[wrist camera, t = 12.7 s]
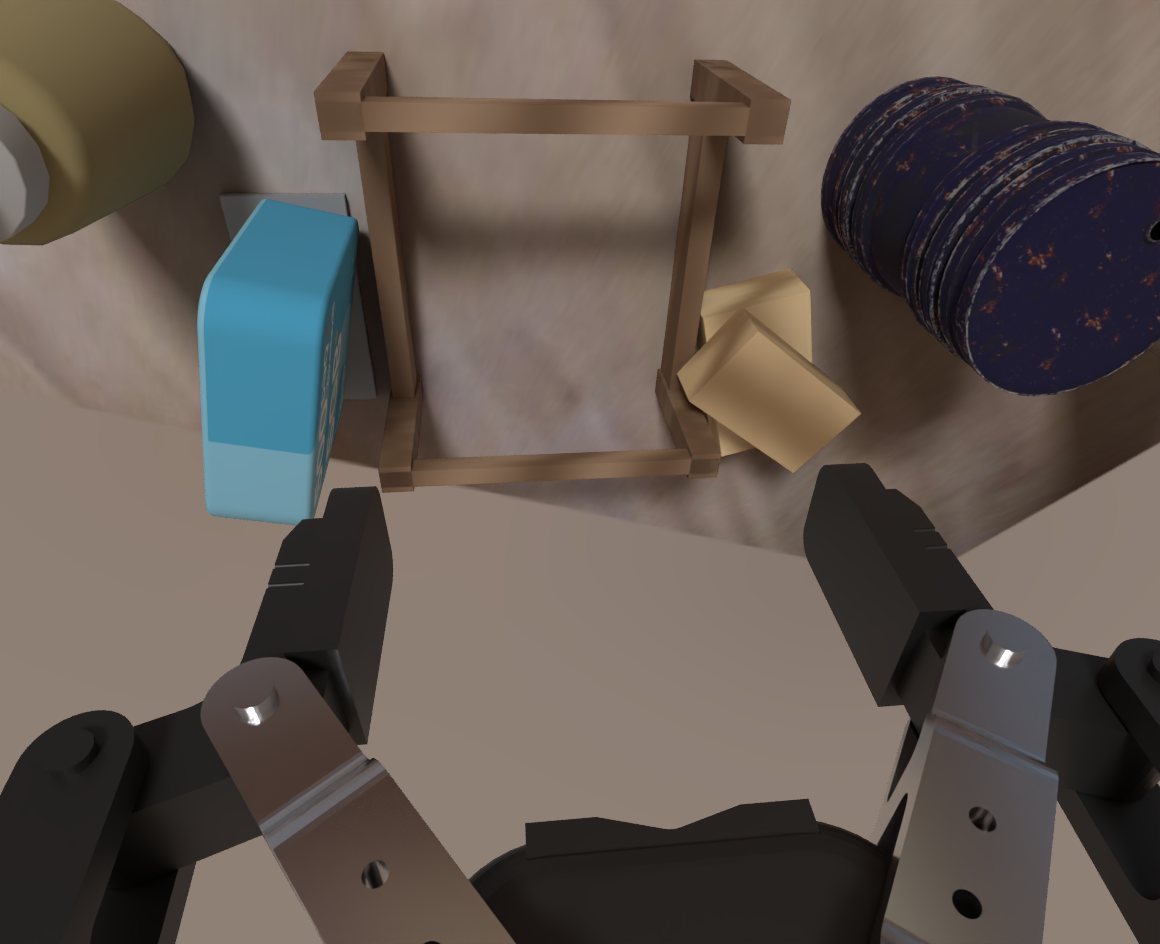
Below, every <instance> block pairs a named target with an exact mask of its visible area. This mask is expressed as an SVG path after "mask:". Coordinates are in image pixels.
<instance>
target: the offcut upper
mask: <svg viewBox="0 0 1160 944" xmlns="http://www.w3.org/2000/svg"><path fill="white" fill-rule="evenodd" d="M677 375H678V377H679V379H680V382H681V384H682V386H683V389H684V391H685V393H686V395H687V398H688V400H689V401H690V402H691V403H692V404H694V405H695V406H697V407H698V408H700V409H701V410H703V411H704V412H705V413H707V414H708V415H710V416H711V417H713V418H714V419H716V420H717V421H719V422H720V423H721V424H723V425H724V426H726V427H727V428H729V429H730V430H732V431H733V432H735V433H736V434H737V435H739V436H740V437H742V438H743V439H745V440H746V441H748V442H749V443H750V444H752V445H753V446H755V447H756V448H758V449H759V450H761V451H762V452H764V453H765V454H766V455H768V456H769V457H771V458H772V459H774V460H775V461H777V462H778V463H780V464H781V465H782V466H784V467H785V468H787V469H788V470H790V471H791V472H793V473H794V472H795V471H796V470H797V469H798V468H800V467H801V466H802V465H803V464H804V463H805V462H806V461H808V460H809V459H810V458H811V457H812V456H813V455H814V454H816V453H817V452H818V451H819V450H820V449H821V448H823V447H824V446H825V445H826V444H827V443H828V442H829V441H831V440H832V439H833V438H834V437H835V436H836V435H837V434H839V433H840V432H841V431H842V430H843V429H844V428H845V427H847V426H848V425H849V424H850V423H851V422H852V421H854V420H855V419H856V418H857V417H858V416H859V415H860V414H861V413H860V412H859V410H858V409H857V408H856V406H855V405H854V404H853V402H852V401H851V400H850V398H849V397H848V396H847V394H846V393H845V392H844V391H843V389H842V388H841V387H840V386H839V385H838V384H837V383H835V382H834V381H833V380H832V379H831V378H829V377H828V376H827V375H826V374H824V373H823V372H822V371H821V370H820V369H818V368H817V367H816V366H815V365H813V364H812V363H811V362H810V361H808V360H807V359H806V358H805V357H804V356H802V355H801V354H800V353H799V352H797V351H796V350H795V349H794V348H793V347H791V346H790V345H789V344H788V343H786V342H785V341H784V340H783V339H781V338H780V337H779V336H778V335H777V334H775V333H774V332H773V331H772V330H770V329H769V328H768V327H767V326H765V325H764V324H763V323H762V322H761V321H759V320H758V319H757V318H756V317H754V316H753V315H752V314H751V313H750V312H748V311H747V310H746V309H745V308H743V307H742V306H741V307H740V308H739V309H738V310H737V311H736V312H735V313H734V314H733V315H732V316H731V317H730V318H729V319H728V320H727V321H726V323H725V324H724V325H723V326H722V327H721V328H720V329H719V330H718V331H717V332H716V333H715V334H714V335H713V336H712V337H711V338H710V339H709V340H708V341H707V342H706V343H705V344H704V346H703V347H702V348H701V349H700V350H699V351H698V352H697V353H696V354H695V355H694V356H693V357H692V358H691V359H690V360H689V361H688V362H687V363H686V364H685V365H684V366H683V367H682V369H681V370H680V371H679V372H678V373H677Z"/></svg>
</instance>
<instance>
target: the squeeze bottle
mask: <svg viewBox="0 0 1160 944" xmlns="http://www.w3.org/2000/svg"><path fill="white" fill-rule="evenodd" d="M194 124H195V120H194V113H193V107H192V101H191V96H190V91H189V87H188V83H187V78H186V74H185V70H184V68H183V66H182V65H181V63H180V62H179V60H178V58H177V57H176V55H175V53H174V52H173V50H172V48H171V47H170V45H169V44H168V42H167V41H166V40H165V39H164V38H163V37H162V36H161V35H159V34H158V33H157V32H156V31H155V30H154V29H153V28H152V27H151V26H149V25H148V24H147V23H146V22H145V21H144V20H143V19H142V18H140V17H139V16H138V15H136V14H135V13H133V12H132V11H130V10H129V9H128V8H126V7H125V6H123V5H122V4H121V3H119V2H117V1H115V0H0V243H1V244H9V245H45V244H47V243H50V242H52V241H55V240H57V239H60V238H62V237H65V236H67V235H70V234H72V233H74V232H76V231H78V230H80V229H82V228H84V227H86V226H88V225H90V224H91V223H93V222H95V221H97V220H99V219H101V218H103V217H105V216H107V215H109V214H110V213H112V212H114V211H116V210H118V209H120V208H122V207H124V206H126V205H128V204H130V203H131V202H133V201H135V200H137V199H139V198H141V197H143V196H145V195H147V194H149V193H150V192H152V191H154V190H156V189H158V188H160V187H162V186H164V185H166V184H168V183H169V182H170V180H171V179H172V178H173V177H174V175H175V174H176V173H177V172H178V170H179V169H180V168H181V167H182V165H183V164H184V163H185V162H186V160H187V159H188V158H189V153H190V147H191V141H192V136H193V130H194Z"/></svg>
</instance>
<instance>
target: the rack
mask: <svg viewBox="0 0 1160 944" xmlns="http://www.w3.org/2000/svg"><path fill="white" fill-rule="evenodd" d="M387 92H388V88H387V79H386V70H385V61H384V53H383V52H347V53H346V54H345V55H344V56H343V58H342V59H341V60H340V61H339V62H338V63H337V65H336V66H335V67H334V68H333V69H332V71H331V72H330V73H329V74H328V75H327V77H326V78H325V79H324V80H323V81H322V83H321V84H320V85H319V86H318V87H317V89H316V90H315V91H314V97H315V103H316V109H317V115H318V121H319V127H320V132H321V138H322V140H356V145H357V152H358V159H359V166H360V173H361V179H362V186H363V193H364V200H365V207H366V214H367V221H368V228H369V235H370V242H371V249H372V256H373V263H374V270H375V276H376V283H377V290H378V297H379V304H380V311H381V318H382V325H383V332H384V339H385V346H386V353H387V360H388V367H389V373H390V380H391V393H390V399H389V405H388V411H387V417H386V423H385V429H384V435H383V441H382V448H381V454H380V460H379V466H378V471H379V476H380V482H381V487H382V492H383V493H385V492H405V491H414V487H417V486H440V485H463V484H485V483H507V482H530V481H552V480H574V479H597V478H619V477H641V476H664V475H686V474H687V477H688V479H693V478H715V477H717V474H718V469H719V464H720V459H721V452H720V449H719V447H718V445H717V443H716V441H715V438H714V436H713V434H712V432H711V430H710V427H709V425H708V423H707V421H706V419H705V416H704V414H703V412H702V410H701V409H700V408H698V407H697V406H695V405H694V404H692V403H691V402H690V401H689V400H688V398H687V395H686V393H685V391H684V389H683V386H682V384H681V382H680V379H679V377H678V375H677V373H678V372H679V371H680V370H681V369H682V367H683V366H684V365H685V364H686V363H687V362H688V361H689V360H690V359H691V358H692V357H693V356H694V353H695V347H696V340H697V334H698V327H699V321H700V314H701V308H702V301H703V294H704V288H705V281H706V275H707V268H708V262H709V255H710V248H711V242H712V235H713V229H714V222H715V216H716V209H717V202H718V196H719V189H720V183H721V176H722V170H723V163H724V156H725V150H726V143H727V137H728V136H735V137H736V138H738V139H739V140H740V141H741V142H742V143H743V144H783V140H784V135H785V129H786V124H787V119H788V114H789V109H790V104H791V100H790V99H789V98H787V97H785V96H784V95H782V94H780V93H779V92H777V91H776V90H774V89H772V88H771V87H769V86H767V85H766V84H764V83H763V82H761V81H759V80H758V79H756V78H754V77H753V76H751V75H750V74H748V73H746V72H745V71H743V70H741V69H740V68H738V67H737V66H735V65H733V64H732V63H730V62H728V61H727V60H694V69H693V77H692V85H691V94H690V97H691V98H692V99H693V100H694V102H681V101H620V100H560V99H499V98H438V97H386V95H387ZM388 132H429V133H521V134H612V135H689V143H688V151H687V159H686V167H685V176H684V184H683V192H682V200H681V208H680V217H679V225H678V233H677V241H676V249H675V258H674V266H673V274H672V282H671V291H670V299H669V307H668V315H667V323H666V332H665V340H664V348H663V356H662V364H661V369H658V372H657V380H656V389H655V392H656V395H657V397H658V400H659V402H660V405H661V408H662V410H663V413H664V416H665V418H666V421H667V424H668V426H669V429H670V432H671V434H672V437H673V440H674V442H675V445H676V448H677V449H662V450H637V451H613V452H588V453H563V454H538V455H514V456H489V457H464V458H440V459H417V454H418V444H419V434H420V424H421V413H422V403H423V394H422V385H421V377H420V376H417V371H416V363H415V354H414V346H413V337H412V329H411V320H410V312H409V303H408V295H407V286H406V278H405V269H404V261H403V252H402V244H401V235H400V227H399V218H398V210H397V201H396V193H395V184H394V176H393V167H392V159H391V150H390V142H389V133H388Z"/></svg>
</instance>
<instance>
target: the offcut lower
mask: <svg viewBox="0 0 1160 944" xmlns="http://www.w3.org/2000/svg"><path fill="white" fill-rule="evenodd" d="M741 306H742V307H743V308H745V309H746V310H747V311H748V312H750V313H751V314H752V315H753V316H754V317H756V318H757V319H758V320H759V321H761V322H762V323H763V324H764V325H765V326H767V327H768V328H769V329H770V330H772V331H773V332H774V333H775V334H777V335H778V336H779V337H780V338H781V339H783V340H784V341H785V342H786V343H788V344H789V345H790V346H791V347H793V348H794V349H795V350H796V351H797V352H799V353H800V354H801V355H802V356H804V357H805V358H806V359H807V360H808V361H810V362H811V363H812V343H811V304H810V290H809V289H808V288H807V287H806V285H805V284H804V283H803V282H802V281H801V280H800V279H799V277H798V276H797V275H796V274H795V273H794V272H793V271H792V269H791V268H790V269H787V270H783V271H779V272H775V273H772V274H768V275H764V276H760V277H756V278H753V279H749V280H745V281H741V282H738V283H734V284H730V285H726V286H723V287H719V288H715V289H711V290H708V291H704V294H703V301H702V308H701V314H700V321H699V327H698V334H697V347H698V351H699V350H700V349H701V348H702V347H703V346H704V344H705V343H706V342H707V341H708V340H709V339H710V338H711V337H712V336H713V335H714V334H715V333H716V332H717V331H718V330H719V329H720V328H721V327H722V326H723V325H724V324H725V323H726V321H727V320H728V319H729V318H730V317H731V316H732V315H733V314H734V313H735V312H736V311H737V310H738V309H739V308H740V307H741ZM707 418H708V425H709V427H710V430H711V432H712V434H713V436H714V438H715V441H716V443H717V445H718V447H719V449H720V452H721V456H726V455H730V454H734V453H738V452H741V451H745V450H749V449H753V448H756V447H755V446H753V445H752V444H750V443H749V442H748V441H746V440H745V439H743V438H742V437H740V436H739V435H737V434H736V433H735V432H733V431H732V430H730V429H729V428H727V427H726V426H724V425H723V424H721V423H720V422H719V421H717V420H716V419H714V418H713V417H711V416H710V415H708V414H707Z"/></svg>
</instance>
